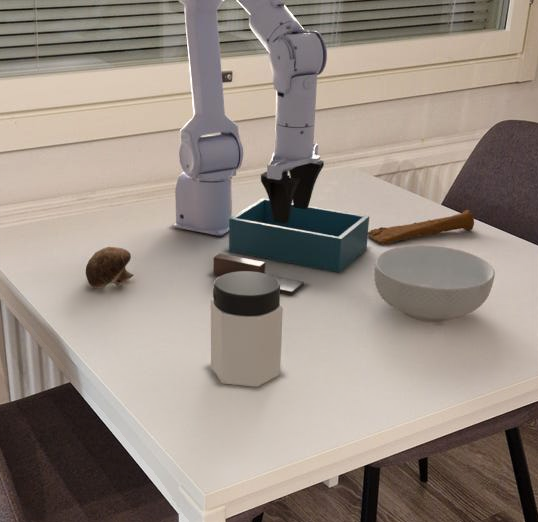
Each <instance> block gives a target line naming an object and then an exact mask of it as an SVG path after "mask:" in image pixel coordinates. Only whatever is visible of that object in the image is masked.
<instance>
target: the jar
mask: <svg viewBox="0 0 538 522" xmlns="http://www.w3.org/2000/svg"><path fill="white" fill-rule="evenodd" d="M270 275H271V274H267V273H265V274H264V273H259V272H251V271H240V272H232V273H227V274H224V275H222V276H220V277H219V276H217V278H216V279H215V280H214V281H213V288H212V298H213V299H211V300H210V368H211V369H212V371H213V372H214V374H215V376H216V377H217V378H218V380H219V381H220V382H221V384H223V385H225V384H226V385H235V386H243V387H253V388H258V387H260V386H262V385H263V384H266V383H267V382H269V381H271V380H272V379H275V378H276V377H278V376H280V375H281V359H282V333H283V312H284V308H283V306H282V305H281V293H280V283H279V281H278V280H277V279H276V278H274V277H272V276H270Z"/></svg>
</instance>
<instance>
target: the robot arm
mask: <svg viewBox="0 0 538 522" xmlns="http://www.w3.org/2000/svg"><path fill="white" fill-rule="evenodd" d="M178 2H179V3H181V4H182V5H183V12H184V21H185V32H186V44H187V56H188V67H189V76H190V88H191V89H190V90H191V99H192V109H193V110H192V111H193V116H192V117H191V119H189V121H187V122H186V124H184V126H183V127H182V128H181V129H180V130H179V133H180V134H179V138H180V139H179V147H178V149H179V150H178V159H179V160H178V161H179V165H180V167H181V169H182V171H183V172H182V173H180V175H179V176H178V178H177V180H176V183H175V193H174V195H175V196H174V197H175V199H174V200H175V223H174V224H173V227H174V228H175V229H180V230H181V229H182V230H188V231H192V232H197V233H201V234H208V235H212V236H217V237H221V236H224V235H225V234H227V233H229V219H230V218H231V217H233V177H236V176H237V171H238V170H239V169H240V168H241V166H242V164H243V161H244V156H245V155H244V154H245V151H244V147H243V142H242V140H241V135H240V133H239V126H238V124H237V123H236V122H234V120H232V119H231V118H229V117H228V116H227V115H226V112H225V110H226V109H225V100H224V87H223V75H222V72H223V71H222V61H221V47H220V35H219V34H220V33H219V23H218V22H219V21H218V10H219V8H220V6H221V5H222V3H223V2H225V0H178ZM236 2H238V4H239V5H240V6H241V7H242V8H243V9H244V10H245V11H246V12H247V14H249V17H248V25H249V28H250V30H251V31H252V32H253V34H254V35H255V37H256V38H257V39H258V41H260V43H261V44H262V46H263V47H264V48H265V49H266V51H267V52H268V62H269V63H268V64H269V67H270V70H271V73H272V74H271V75H272V85H273V90H274V91H276V92H275V93H276V95H275V126H274V152H273V153H272V156H271V160H270V162H269V163H268V164H267V166H266V171H264V172H263V173H261V174H260V183H261V184H262V185H263V187H264V189H265V192H266V194H267V197H268V199H269V201H270V205H271V210H272V215H273V219H274V222H278V223H284V224H287V223H288V221H289V218H290V212H291V206H292V203H293V205H294V208H300V209H305V210H306V209H307V208H308V206H310V202H311V198H312V195H313V191H314V187H315V184H316V182H317V180H318V177H319V175H320V173H321V171H322V170H323V168H324V164H325V161H324V160H321V156H320V155H319V143H316V142H315V140H314V139H315V124H316V123H315V122H316V108H317V107H316V106H317V105H316V103H317V86H318V76H319V75H321V74H322V73H323V72H324V70H325V68H326V65H327V61H328V50H327V46H326V42H325V40H324V38H323V37H322V35H321V33H320V32H319V31H317V30H309V29H308V28H303V26H302V25H301V24H300V23H299V21H298V20H297V19H296V17H295V16H294V15H293V14H292V12H291V11H290V10H289V8H288V7H287V6H286V5H285V4H286V3H285V1H284V0H236ZM218 133H219V134H218Z"/></svg>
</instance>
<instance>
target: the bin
mask: <svg viewBox="0 0 538 522" xmlns="http://www.w3.org/2000/svg"><path fill="white" fill-rule="evenodd" d="M369 224H370V216H369V215H364V214H358V213H353V212H346V211H340V210H335V209H330V208H325V207H324V208H323V207H318V206H313V205H309V206H308V208H307V209H306V210H305V209H300V208H294V205H293V202H292V206H291V212H290V218H289V221H288V223H287V224H284V223H278V222H274V219H273V215H272V210H271V205H270V201H269V198H265V197H261V199H259V200H257V201H256V202H254V203H252V204H251V205H249V206H247V207H246V208H244V209H243V210H241V211H239V212H237V213H236V214H235V215H232V217H231V218H230V219H229V231H228V251H229V252H232V253H235V254H241V255H247V256H252V257H253V256H254V257H258V258H261V259H262V258H263V259H267V260H272V261H278V262H281V263H288V264H293V265H298V266H303V267H309V268H313V269H319V270H324V271H329V272H334V273H340V272H341V271H342V270H343V269H345V268H346V267H347V266H348V265H349V264H351V262H353V261H354V260H355V259H356V258H358V257H359V256H360V254H361V253H363V252H364V251H365V250H366V249H367V247H368V237H369V235H368V232H369V226H370V225H369Z"/></svg>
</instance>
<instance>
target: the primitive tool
mask: <svg viewBox="0 0 538 522" xmlns="http://www.w3.org/2000/svg"><path fill="white" fill-rule="evenodd" d="M474 225H475V218H474V215H473V213H472V212H471V210H469V209H466V210H464V211H463V212H461V213H457V214H454V215H452V216H444V217H440V218H434V219H427V220H424V221H420V222H414V223H409V224H402V225H395V226H390V227H383V226H381V227H379V228H373V229H371V230H368V237H370V238H371V239H372V240H374V241H375V242H377V243H379V244H381V245H383V244H384V245H385V244H391V243H396V242H399V241H403V240H407V239H412V238H417V237H423V236H427V235H434V234H440V233H444V232H451V231H456V230H461V229H463V230H466V231H472V230H473V229H474V227H475V226H474Z"/></svg>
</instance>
